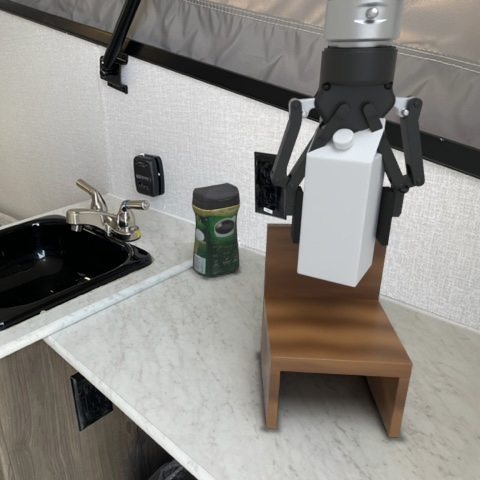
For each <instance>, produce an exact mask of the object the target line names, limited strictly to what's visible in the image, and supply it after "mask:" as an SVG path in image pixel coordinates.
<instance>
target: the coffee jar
mask: <svg viewBox="0 0 480 480" xmlns="http://www.w3.org/2000/svg"><path fill="white" fill-rule="evenodd" d="M240 207H241V197H240V190H239V188H238V186H236V185H234V184H232V183H229V182H224V183H219V184H213V185H207V186H202V187H195V188H194V189H193V191H192V199H191V208H192V211H193V213H194V217H195V219H194V221H195V227H194V244H193V254H192V267H193V269H194V270H195V272H196V273H198V274H199V275H202V276H206V277H209V278H212V277H218V276H223V275H226V274H230V273H233V272H236V271H237V270H239V267H240V266H241V265H240V250H239V239H238V213H239V210H240Z"/></svg>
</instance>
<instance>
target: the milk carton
mask: <svg viewBox="0 0 480 480" xmlns="http://www.w3.org/2000/svg"><path fill="white" fill-rule="evenodd" d="M379 119H380V121H381V123H382V126H383V129H380V130H378V131H375V132H373V133H372V131H371V130H370V128H368V129H366V130H363V131H358V132H356V133H353V132H352V131H351V130H349V129H340V130H338V131H336V132H335V134H334V135H333V137H332V138H331V140H330V141H329V142H327V144H326V145H325V146H324V147H321V148H319V149H316V150H314V151H311V152H309V150H308V152H309V153H308V152H307V157H306V169H305V177H304V182H303V192H304V194H303V206H302V219H301V231H300V244H299V256H298V269H297V272H298V273H299V274H303V275H307V276H311V277H315V278H319V279H323V280H327V281H331V282H335V283H340V284H344V285H348V286H352V287H355V286H356V285H357V284H358V282H359V281H360V280H361V278H362V277H363V276H364V274H365V273H366V272H367V270H368V269H369V267H370V266H371V265H372V259H373V252H374V245H375V238H376V230H377V223H378V216H379V209H380V202H381V195H382V188H383V186H384V182H385V181H384V180H385V175H386V173H385V170H384V165H383V160H382V155H381V154H380V153H379V152H378V151H377V148H378V145H379V142H380V139H381V136H382V134H383V131H384V130H385V131H386V129H385V127H386V120H387V119H386V118H385V117H384V118H379ZM321 122H322V118H321V117H320V116H319V122H318V125H317V127H319V125H320V123H321ZM325 126H326V125H324V126H322V129H324V127H325ZM317 127H316V129H317V130H318V128H317ZM315 131H316V130H315ZM316 132H317V131H316ZM314 134H316V133H315V132H314ZM314 134H313V135H314ZM314 137H315V135H314ZM313 139H314V138H313ZM312 142H313V140H312ZM311 144H312V143H311ZM310 147H311V145H310ZM309 149H310V148H309Z"/></svg>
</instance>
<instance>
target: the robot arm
mask: <svg viewBox="0 0 480 480" xmlns="http://www.w3.org/2000/svg"><path fill="white" fill-rule="evenodd" d="M325 3H326V4H325V14H324V24H323V34H322V40H323V41H324V42H325V43H328V44H327V47H324V48H323V50H322V51H321V59H320V68H319V69H320V71H319V82H318V89H317V91H316V92H315V94H314V96H313V97H308V98H297V97H291V98H290V99H289V100H288V105H287V106H288V120H287V123H286V125H285V129H284V132H283V135H282V138H281V141H280V144H279V147H278V151H277V153H276V157H275V159H274V163H273V164H272V165H273V166H272V169H271V172H270V180H271V184H272V185H273V186H275V187H281V188H282V189H284V199H283V210H284V213H285V216H287V217H291V224H292V225H291V238H292V241H293V244H299V243H300V231H301V219H302V206H303V194H304V189H303V188H302V186H301V184H302V181H303V180H305V169H306V157H307V152H308V150H309V152H311V151H314V150H316V149H319V148H321V147H324V146H325V145H326V144H327V142H329V141H330V140H331V138H332V137H333V135H334V134H335V132H336V131H338V130H340V129H349V130H351V131H352V132H353V133H356V132H358V131H363V130H366V129H368V128H370V130H371V131H372V133H373V132H375V131H378V130H380V129H383V126H382V123H381V121H380V119H379V118H385V117H386V116H387V115H388V113H389V112H390V111H391V110H393V108H394V109H395V114H396V115H397V116H398V117H399V124H400V125H399V126H400V133H401V141H402V142H401V143H402V150H403V157H404V166H405V174H403V172H402V170H401V168H400V165H399V163H398V161H397V158H396V156H395V153H394V152H393V149H392V147H391V144H390V141H389V139H388V137H387V133H386V129H385V130H384V131H383V134H382V136H381V139H380V142H379V145H378V148H377V151H378V152H379V153H380V154H381V155H382V160H383V165H384V170H385V175H386V177H387V179H388V182H389V184H390V186H389V185H387V186H385V185H383V188H382V195H381V202H380V209H379V216H378V223H377V230H376V239H377V240H378V242H379V243H380V244H381V246H387V247H388V246H389V241H390V235H391V229H392V228H391V227H392V221H393V218H400V216H401V215H402V212H403V206H404V205H403V204H404V200H405V194H407V193H408V192H410V188H414V187H418V188H420V187H422V186H424V185H425V183H426V176H425V167H424V157H423V149H422V141H421V140H422V138H421V131H420V130H421V129H420V123H419V120H420V116H421V112H422V109H423V103H424V101H423V100H422V98H420V97H417V96H413V95H407V96H397V95H395V92H394V88H393V87H394V80H395V74H396V67H397V61H398V52H399V49H398V48H397V46H396V45H393V42H394V41H396V40H398V39H399V38H400V36H401V30H402V29H401V28H402V21H403V15H404V14H403V13H404V7H405V0H326V2H325ZM313 109H315V111H316V112H317V114H318V115H319V118H320V117H321V118H322V122H321V123H320V125H319V124H318V126H319V127H318V126H317V127H316V129H315V131H314V133H313V135H312V137H311V138H310V140H309V141H308V143H307V145H306V146H305V148H304V149H303V151H302V153H301V154H300V156H299V157H298V158H297V160H296V162H295V164H294V165H293V166H292V168H291V169H290V171H289V173H287V174H286V172H287V169H288V166H289V163H290V161H291V157H292V155H293V152H294V148H295V146H296V143H297V141H298V140H297V139H298V136H299V134H300V131H301V127H302V123H303V120H305V119H306V118H308V116H309V114H310V111H311V110H313ZM324 125H326V126H325V127H324V129H322V126H324ZM317 128H318V130H317ZM316 131H317V132H316ZM315 133H316V134H315ZM314 135H315V137H314ZM313 138H314V139H313ZM312 140H313V142H312ZM311 143H312V144H311ZM310 145H311V147H310ZM309 148H310V149H309ZM309 152H308V153H309Z"/></svg>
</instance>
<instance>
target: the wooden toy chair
mask: <svg viewBox="0 0 480 480" xmlns="http://www.w3.org/2000/svg"><path fill="white" fill-rule="evenodd" d="M266 223H267V222H266ZM291 225H292V223H275V222H271V223H269V222H268V223H267V224H266V236H265V237H266V239H265V257H264V258H265V261H264V279H263V296H262V297H263V298H262V314H261V315H262V316H261V334H260V335H261V336H260V355H259V356H260V364H261V377H262V387H263V388H262V389H263V401H264V412H265V424H266V429H272V430H273V429H275V430H276V429H277V425H278V410H279V398H280V397H279V394H280V383H281V382H280V381H281V372H296V373H311V374H312V373H313V374H329V375H330V374H331V375H351V376H365V379H366V381H367V384H368V386H369V389H370V392H371V394H372V396H373V399H374V402H375V404H376V408H377V410H378V412H379V415H380V418H381V420H382V423H383V425H384V429H385V431H386V433H387V437H388V438H399V437H400V432H401V427H402V422H403V417H404V411H405V408H406V407H405V406H406V401H407V396H408V391H409V386H410V381H411V375H412V371H413V367H414V366H413V365H414V364H413V362H412V359H411V358H410V356H409V354H408V352H407V351H406V348H405V347H404V344H403V343H402V341H401V339H400V337H399V335H398V334H397V332H396V330H395V328H394V326H393V324H392V322H391V321H390V319H389V317H388V315H387V313H386V311H385V310H384V307H383V306H382V304H381V303H380V293H381V287H382V281H383V273H384V267H385V260H386V255H387V248H388V246H381V244H380V243H379V242H378V240H377V239H376V238H375V245H374V252H373V259H372V265H371V266H370V267H369V269H368V270H367V272H366V273H365V274H364V276H363V277H362V278H361V280H360V281H359V282H358V284H357V285H356V286H355V287H352V286H348V285H344V284H340V283H335V282H331V281H327V280H323V279H319V278H315V277H311V276H307V275H303V274H299V273H298V272H297V269H298V256H299V244H300V243H299V244H293V241H292V238H291Z"/></svg>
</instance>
